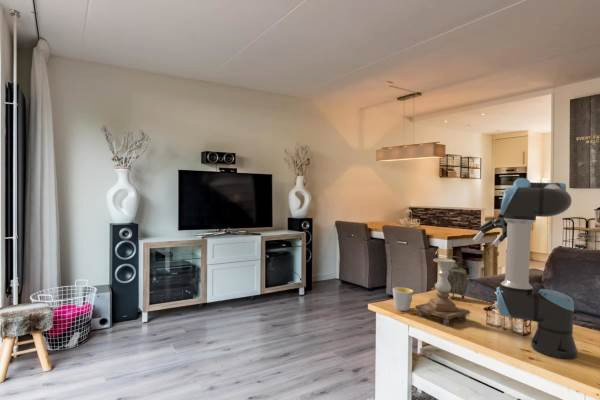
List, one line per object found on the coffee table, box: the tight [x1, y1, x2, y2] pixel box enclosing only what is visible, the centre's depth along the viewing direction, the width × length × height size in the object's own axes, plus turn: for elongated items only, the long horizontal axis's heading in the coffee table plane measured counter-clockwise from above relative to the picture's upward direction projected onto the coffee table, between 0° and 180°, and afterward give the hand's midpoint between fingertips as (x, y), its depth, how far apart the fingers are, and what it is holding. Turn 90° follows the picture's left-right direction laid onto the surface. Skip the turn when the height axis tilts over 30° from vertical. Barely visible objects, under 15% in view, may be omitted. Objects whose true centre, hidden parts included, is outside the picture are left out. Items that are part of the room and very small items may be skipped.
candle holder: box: [427, 257, 458, 312], centre depth 185 cm, size 11×11×24 cm
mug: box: [392, 286, 414, 312], centre depth 198 cm, size 14×10×10 cm
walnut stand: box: [414, 302, 471, 327], centre depth 185 cm, size 18×18×5 cm
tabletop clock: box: [447, 255, 468, 300], centre depth 223 cm, size 14×9×25 cm, turn 66°
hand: (484, 243), depth 191 cm, fingers open, 13 cm apart
